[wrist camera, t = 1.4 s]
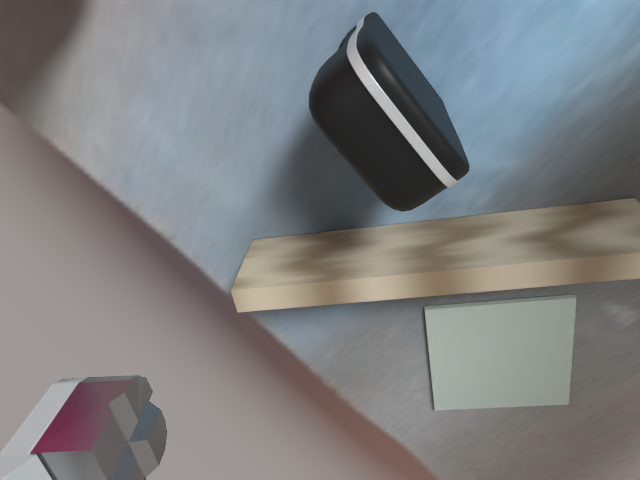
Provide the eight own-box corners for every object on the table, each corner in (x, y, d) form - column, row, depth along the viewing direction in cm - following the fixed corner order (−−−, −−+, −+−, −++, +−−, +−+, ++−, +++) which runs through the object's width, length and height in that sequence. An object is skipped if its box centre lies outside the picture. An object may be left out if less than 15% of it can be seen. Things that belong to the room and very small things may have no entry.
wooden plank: (634, 197, 31) (685, 248, 26) (631, 221, 32) (680, 275, 26) (252, 239, 35) (230, 290, 30) (258, 259, 36) (237, 312, 31)
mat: (574, 294, 35) (576, 297, 34) (567, 400, 39) (568, 404, 39) (424, 306, 36) (424, 310, 36) (434, 406, 41) (434, 410, 41)
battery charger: (317, 53, 29) (285, 109, 19) (371, 4, 27) (367, 37, 17) (393, 146, 31) (400, 240, 21) (447, 106, 29) (482, 187, 19)
